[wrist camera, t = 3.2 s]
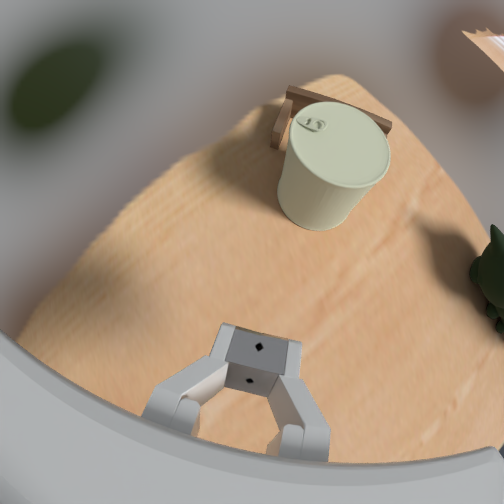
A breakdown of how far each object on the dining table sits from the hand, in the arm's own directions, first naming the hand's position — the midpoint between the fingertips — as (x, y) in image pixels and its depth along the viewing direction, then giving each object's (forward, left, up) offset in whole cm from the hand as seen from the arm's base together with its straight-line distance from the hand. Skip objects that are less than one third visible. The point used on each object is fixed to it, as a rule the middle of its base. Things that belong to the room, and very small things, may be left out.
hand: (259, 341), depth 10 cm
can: (+9, +14, -19) cm, 26 cm away
